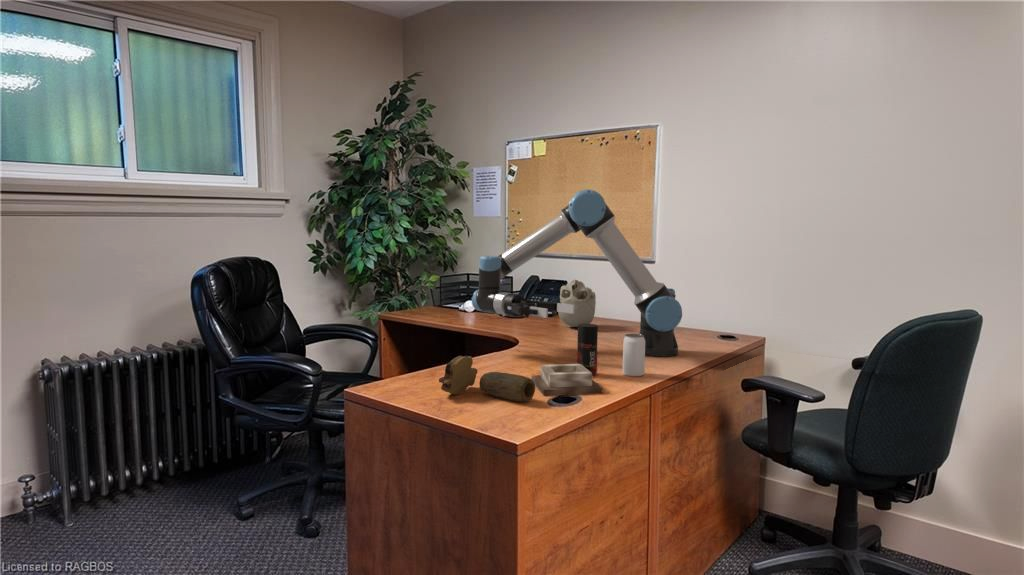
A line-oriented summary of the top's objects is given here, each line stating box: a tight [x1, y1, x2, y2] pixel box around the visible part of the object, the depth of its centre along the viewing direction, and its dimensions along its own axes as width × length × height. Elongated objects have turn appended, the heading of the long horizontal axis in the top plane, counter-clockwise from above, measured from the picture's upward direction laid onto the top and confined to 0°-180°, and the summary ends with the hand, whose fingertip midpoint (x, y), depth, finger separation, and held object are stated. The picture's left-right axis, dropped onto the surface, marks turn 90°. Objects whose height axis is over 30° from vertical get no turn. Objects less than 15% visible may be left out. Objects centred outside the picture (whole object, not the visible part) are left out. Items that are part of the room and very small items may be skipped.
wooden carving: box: [438, 355, 478, 396], centre depth 161 cm, size 16×5×10 cm, turn 159°
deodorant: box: [576, 323, 599, 377], centre depth 182 cm, size 6×6×15 cm
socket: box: [531, 363, 603, 397], centre depth 168 cm, size 16×16×5 cm
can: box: [622, 333, 646, 377], centre depth 183 cm, size 6×6×12 cm
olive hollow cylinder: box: [479, 371, 536, 403], centre depth 157 cm, size 15×7×7 cm, turn 55°
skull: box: [558, 279, 597, 328], centre depth 267 cm, size 20×15×22 cm
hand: (560, 311), depth 188 cm, fingers open, 13 cm apart
